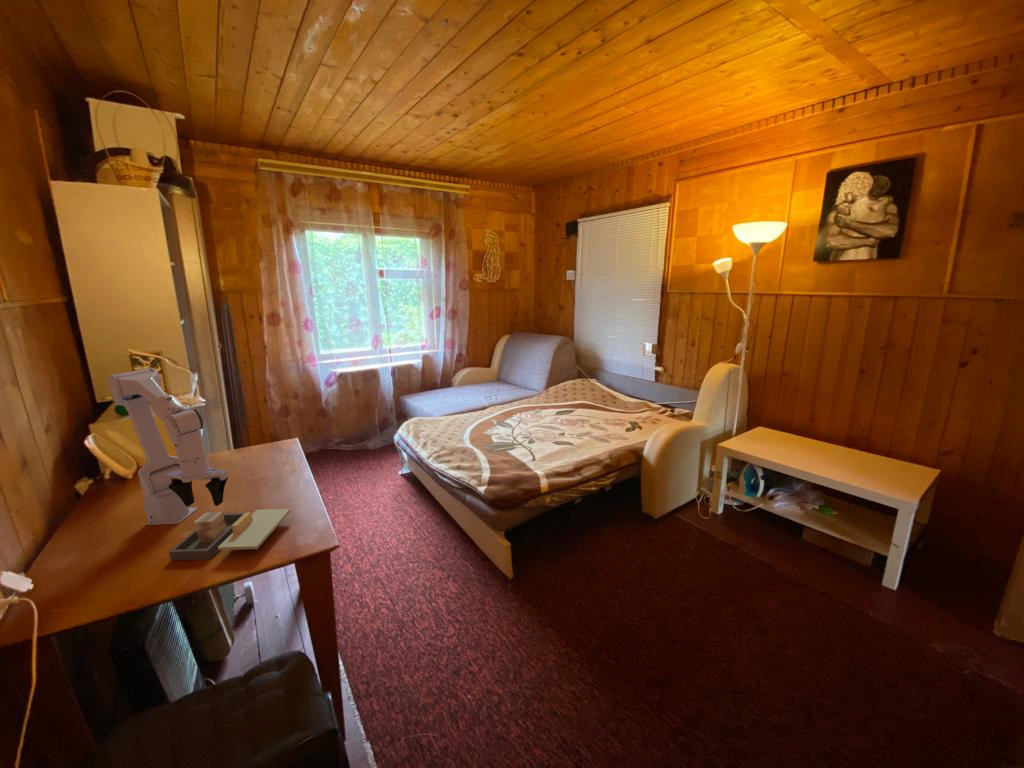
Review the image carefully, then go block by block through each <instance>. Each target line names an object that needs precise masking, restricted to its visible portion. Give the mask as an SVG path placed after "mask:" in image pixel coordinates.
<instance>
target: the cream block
mask: <svg viewBox="0 0 1024 768" xmlns="http://www.w3.org/2000/svg"><path fill="white" fill-rule="evenodd" d="M223 513H224V512H223V511H212V512H210V511H209V512H205V513H204V514H202V515H201V516H199V517H198V518H197V519H196V520H194V522H193V524H194V528H195V529H196V532H197V536H198V540H199V542H214V541H215V540H216V539H217V538H219V537H220V536H221V535H222V534H223V533H224V532H225V531H226V530H227V528H226V524H225V520H224V516H223Z"/></svg>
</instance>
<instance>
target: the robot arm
mask: <svg viewBox="0 0 1024 768" xmlns="http://www.w3.org/2000/svg"><path fill="white" fill-rule="evenodd" d="M106 380H107V381H106V382H107V387H108V390H109V393H110V395H111V397H112V400H113V402H114V403H115V405H116V406H123V407H124V408H125V410H126V411H127V413H128V416H129V418H130V421H131V424H132V426H133V428H134V432H135V433H136V436H137V438H138V441H139V444H140V446H141V449H142V450H143V451H142V452H143V454H144V457H145V459H146V461H145V463H144V464H143V465H142V466H141V467H140V468H139V470H138V471H137V475H138V477H139V485H140V487H141V490H142V492H143V493H145V495H144V496H143V501H142V502H143V508H144V512H145V514H146V518H147V522H146V523H145V524H146V525H147V526H153V525H178V524H181V523H182V522H183V521H184V520H186V519H187V518H188V517H189V516H191V515H192V514H193V513H195V512H196V511H197V510H198V509H199V508H198V507H196V506H195V507H190V506H191V505H193V504H194V503H195V496H194V491H193V482H194V481H197V480H199V481H201V480H210V481H208V482H207V483H205V484H204V485H205V487H206V489H207V490H208V491H209V493H210V495H211V499H212V501H213V504H214V506H215V507H219V506H220V505H221V504H222V503H223V502H224V492H225V488H226V484H227V482H228V480H229V472H228V471H229V470H228V469H220V468H215V467H214V468H213V467H210V463H209V460H208V455H207V451H206V446H205V443H204V439H203V435H202V431H201V430H203V429H204V427H205V426H204V425H205V423H204V419H203V416H202V414H201V413H200V411H199V410H198V409H197V408H196V407H190V406H189V407H187V406H186V405H185V404H184V403H182V402H181V400H179V399H178V398H177V397H176V396H174V395H171V394H167V393H166V392H165V391H164V389H163V388H162V378H161V376H160V374H159V371H157V370H156V369H155V368H154V367H148V368H145V369H139V370H133V371H128V372H121V373H117V374H116V373H115V374H113V373H112V374H109V376H108V377H107V379H106ZM150 405H151V406H150ZM154 415H156V417H158V418H159V419H160V420H161V421H162V422H163V424H164V429H165V430H166V432H167V435H168V436H169V440H170V441H171V443H172V444H173V445H174V448H175V452H176V456H173V455H169V453H168V451H167V448H166V446H165V442H164V441H163V438H162V435H161V433H160V430H159V428H158V425H157V422H156V420H155V417H154Z"/></svg>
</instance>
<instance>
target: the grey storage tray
mask: <svg viewBox="0 0 1024 768" xmlns="http://www.w3.org/2000/svg"><path fill="white" fill-rule="evenodd" d="M244 513H245V512H234V513H233V512H229V513H228V512H226V513H225V512H223V516H224V520H225V524H226V528H227V530H226V531H225V532H224V533H223V534H222V535H221V536H220V537H219V538H217V539H216V540H215V541H214V542H199V540H198V536H197V532H196V528H195V529H194V530H193V531H192V532H190V533H189V534H188V535H187V536H186V537H184V538H183V539H182V540H181V541H180V542H178V544H176V545H175V546H174V547H172V548H171V549H170V550H169V551H168V554H169V557H170V561H194V560H195V561H197V560H198V561H201V560H210V559H211V560H212V558H213V557H214V556H215V554H217V552H219V551H220V550H218V546H219V545H221V544H222V543H223V542H224V541H225V540H226V539H227V538H228V537H229V536H230V535H231V534H232V533H233V530H232V525H233V524H234V523H235V522H236V521H237V520H238V519H239V518H240V517H241V516H242V515H243V514H244Z"/></svg>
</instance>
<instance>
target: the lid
mask: <svg viewBox="0 0 1024 768" xmlns="http://www.w3.org/2000/svg"><path fill="white" fill-rule="evenodd" d="M243 513H244V514H243V515H242V516H241V517H240V518H239V519H238V520H237V521H236V522H235V523H234V524H233V525H232V530H233V533H232V534H231V535H230V536H229V537H228V538H227V539H226V540H225V541H224V542H223V543H222V544H221V545H219V546H218V550H219V551H225V550H226V551H227V550H228V551H229V550H230V551H231V550H233V551H235V550H236V551H237V550H258V549H259V548H260V546H262V544H263V543H264V542H265V541H266V540H267V538H268V537H270V535H271V534H272V533H273V532H274V531H275V530H276V528H277V527H279V525H280V524H281V523H282V522H283V521H284V519H285V518H287V516H288V515H290V513H291V508H275V509H274V508H273V509H272V508H271V509H270V508H269V509H256V510H254V512H248V511H247V512H243Z"/></svg>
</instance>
